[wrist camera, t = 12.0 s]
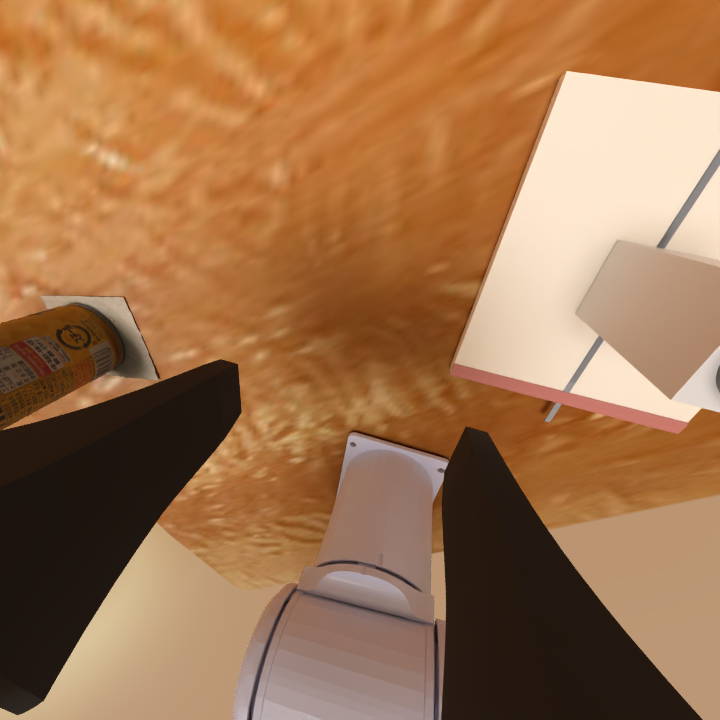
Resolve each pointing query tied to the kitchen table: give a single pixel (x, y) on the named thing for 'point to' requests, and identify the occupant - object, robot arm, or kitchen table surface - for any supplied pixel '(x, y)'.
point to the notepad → (593, 240)
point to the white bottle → (661, 318)
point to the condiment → (66, 352)
